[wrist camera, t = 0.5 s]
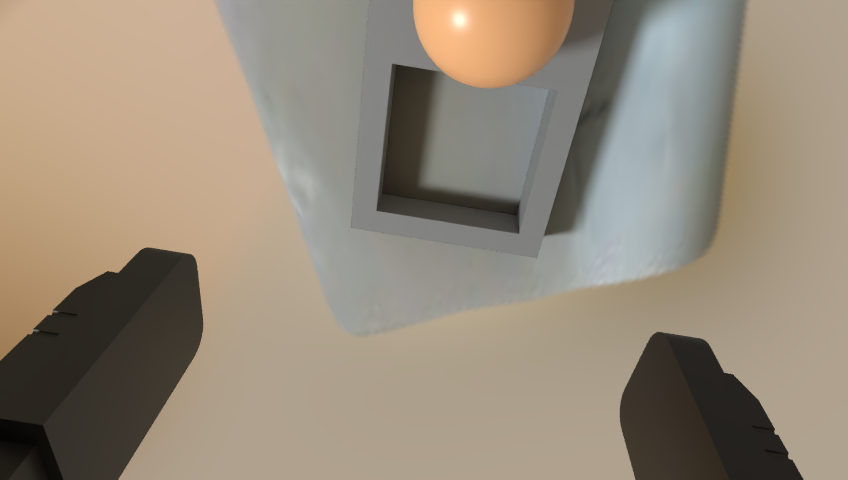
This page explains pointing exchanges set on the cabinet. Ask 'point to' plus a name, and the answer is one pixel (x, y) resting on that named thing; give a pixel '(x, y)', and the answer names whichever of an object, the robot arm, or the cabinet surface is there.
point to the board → (567, 84)
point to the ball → (492, 37)
